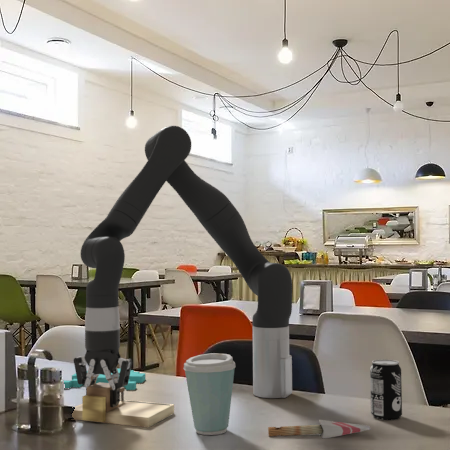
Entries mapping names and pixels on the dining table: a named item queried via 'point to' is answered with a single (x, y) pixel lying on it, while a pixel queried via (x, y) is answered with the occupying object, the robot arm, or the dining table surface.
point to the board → (133, 413)
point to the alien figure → (133, 379)
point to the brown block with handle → (98, 402)
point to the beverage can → (386, 389)
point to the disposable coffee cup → (210, 391)
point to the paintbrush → (319, 429)
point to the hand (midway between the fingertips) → (102, 405)
